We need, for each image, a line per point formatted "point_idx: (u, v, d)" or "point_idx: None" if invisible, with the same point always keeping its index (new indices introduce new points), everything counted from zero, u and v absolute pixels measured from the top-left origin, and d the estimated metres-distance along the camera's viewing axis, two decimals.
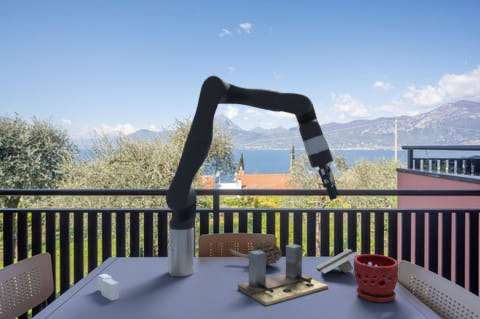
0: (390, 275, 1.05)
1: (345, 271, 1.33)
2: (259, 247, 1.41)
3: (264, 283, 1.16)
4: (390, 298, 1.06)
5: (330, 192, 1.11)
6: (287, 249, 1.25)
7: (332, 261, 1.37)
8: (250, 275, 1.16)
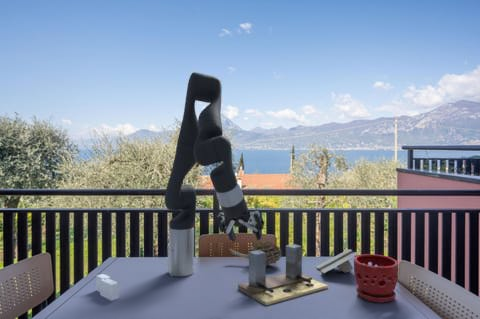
0: (390, 275, 1.05)
1: (345, 271, 1.33)
2: (259, 247, 1.41)
3: (264, 283, 1.16)
4: (390, 298, 1.06)
5: None
6: (287, 249, 1.25)
7: (332, 261, 1.37)
8: (250, 275, 1.16)
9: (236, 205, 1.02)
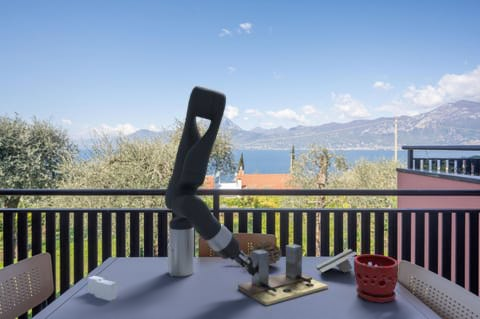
0: (390, 275, 1.05)
1: (344, 271, 1.33)
2: (259, 247, 1.41)
3: (267, 282, 1.16)
4: (390, 298, 1.06)
5: None
6: (287, 249, 1.25)
7: (332, 260, 1.38)
8: None
9: (220, 251, 1.06)
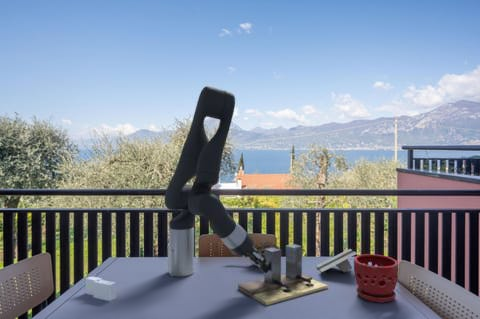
0: (390, 275, 1.05)
1: (344, 270, 1.34)
2: (259, 247, 1.41)
3: (279, 279, 1.19)
4: (390, 298, 1.06)
5: None
6: (287, 249, 1.25)
7: (332, 260, 1.38)
8: None
9: (235, 248, 1.09)
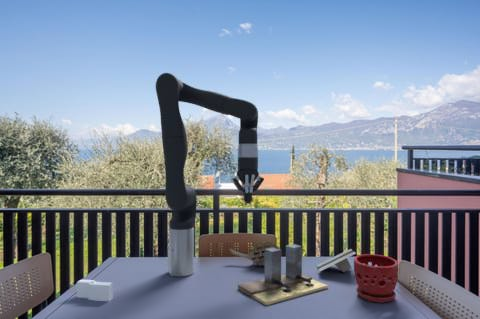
0: (390, 275, 1.05)
1: (343, 270, 1.34)
2: (259, 247, 1.41)
3: (279, 279, 1.19)
4: (390, 298, 1.06)
5: (244, 196, 1.30)
6: (287, 249, 1.25)
7: (332, 260, 1.39)
8: (266, 272, 1.20)
9: (257, 158, 1.29)
